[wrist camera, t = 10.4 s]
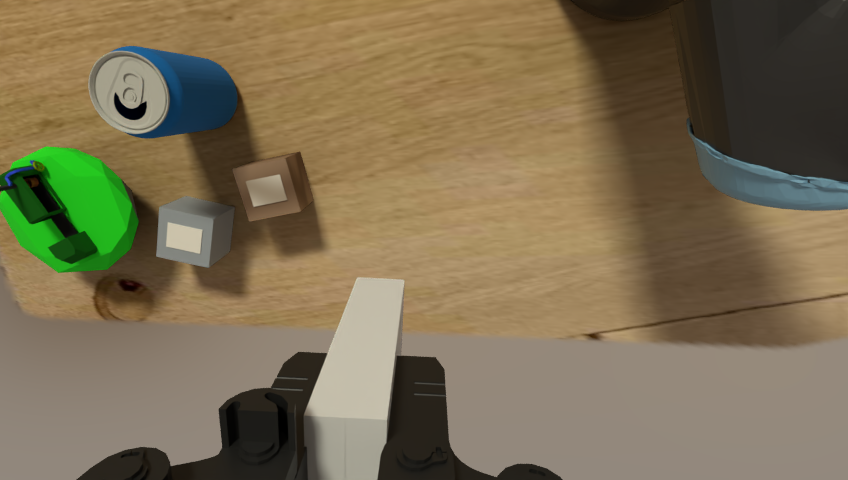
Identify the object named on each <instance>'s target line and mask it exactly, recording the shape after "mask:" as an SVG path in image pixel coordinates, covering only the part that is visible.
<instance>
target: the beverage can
mask: <svg viewBox="0 0 848 480" xmlns="http://www.w3.org/2000/svg"><path fill="white" fill-rule="evenodd" d="M89 93H90V97H91V100H92V103H93V105H94V107H95V109H96V110H97V112H98V113H99V115H100V116H101V117H102V118H103V119H104V120H105V121H106V122H107V123H108V124H110V125H111V126H112V127H114V128H116V129H118V130H120V131H123V132H125V133H127V134H129V135H132V136H135V137H139V138H157V137H164V136H171V135H177V134H184V133H191V132H198V131H205V130H212V129H216V128H219V127H221V126H223V125H225V124H226V123H227V122H228V121H229V120H230V119H231V118H232V116H233V115H234V113H235V110H236V107H237V91H236V87H235V84H234V82H233V80H232V78H231V77H230V75H229V74H228V73H227V71H226V70H225V69H224V68H223V67H221V66H220V65H219V64H217V63H215V62H214V61H211V60H209V59H205V58H200V57H194V56H188V55H183V54H177V53H171V52H166V51H160V50H154V49H149V48H143V47H137V46H126V47H121V48H118V49H115V50H113V51H112V52H110V53H108V54H105V55H104V56H102V57H101V58H100V59H98V61H97V62H96V63H95V64H94V66H93V68H92V70H91V72H90V76H89Z"/></svg>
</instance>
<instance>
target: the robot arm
mask: <svg viewBox="0 0 848 480" xmlns="http://www.w3.org/2000/svg"><path fill="white" fill-rule="evenodd" d="M571 1H572V2H574V3H575V4H576V5H577V6H578V7H580V8H581V9H583V10H584V11H586V12H588V13H590V14H592V15H595V16H597V17H600V18H604V19H609V20H617V21H625V20H635V19H639V18H643V17H647V16H650V15H652V14H655V13H658V12H660V11H663V10H665V9H667V8H669V9H670V15H671V20H672V26H673V32H674V37H675V43H676V48H677V54H678V59H679V65H680V71H681V76H682V82H683V87H684V93H685V98H686V104H687V109H688V115H689V117H688V119H687V130H688V133H689V135H690V137H691V138H692V140H693V142H694V145H695V149H696V154H697V158H698V162H699V166H700V169H701V172H702V174H703V176H704V177H705V178H706V179H707V180H709V182H710V183H711V184H712V185H713V186H714V187H715V188H716V189H717V190H719V191H720V192H722V193H724V194H726V195H728V196H730V197H733V198H735V199H738V200H741V201H744V202H748V203H752V204H756V205H762V206H767V207H774V208H781V209H793V210H813V211H823V210H843V209H848V0H686V1H684V0H571ZM682 1H683V2H682ZM403 302H404V280H399V279H380V278H361V277H357V279H356V282H355V285H354V287H353V290H352V292H351V295H350V297H349V300H348V303H347V305H346V308H345V310H344V313H343V315H342V318H341V321H340V323H339V326H338V328H337V331H336V333H335V336H334V339H333V341H332V344H331V346H330V349H329V351H328V353H310V352H298V353H296V354H295V355H294V356H292V357H291V358H290V359H288V360H287V361H286V362H285V363H284V364H283V366H282V368H281V370H280V371H279V373H278V375H277V379H275V381H274V383H273V385H272V386H271V388H260V389H253V390H249V391H246V392H242V393H240V394H238V395H236V396H234V397H232V398H230V399H229V400H227V401H226V402H225V403H224V404H223V405H222V406H221V407H220V408H219V418H220V427H221V438H222V449H221V451H220V453H219V454H218V455H216V456H215V457H211V458H208V459H204V460H201V461H196V462H190V463H186V464H181V465H175V466H170V461H169V459H168V457H167V455H166V453H164V452H162V451H160V450H158V449H157V448H147V447H139V448H134V449H128V450H124V451H122V452H119V453H117V454H114V455H112V456H109V457H107V458H105V459H104V460H102V461H101V462H99V463H98V464H96V465H95V466H93V467H92V468H90V469H89V470H88V471H87V472H85V473H84V474H83V475H82V476H80V477H79V478H78V479H77V480H562V479H561V478H560V477H559V476H558V475H556V474H554V473H553V472H551V471H550V470H548V469H546V468H543V467H540V466H537V465H533V464H516V465H513V466H510V467H507V468H505V469H504V470H503V471H502V472H501V473H500V474H499V475H498V476H497V477H494V476H491V475H488V474H484V473H481V472H479V471H476V470H474V469H472V468H470V467H468V466H467V465H465V464H464V463H463V462H461V461H460V460H459V459H458V458H457V457H456V456H455V454H454V452H453V451H452V449H451V447H450V443H449V436H448V420H447V405H446V390H445V372H444V368H443V367H442V366H441V364H440V363H439V362H438V360H437V359H436V357H417V356H401V348H402V325H403Z"/></svg>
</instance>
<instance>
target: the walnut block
mask: <svg viewBox="0 0 848 480" xmlns="http://www.w3.org/2000/svg"><path fill="white" fill-rule="evenodd" d="M232 171H233V174H234V177H235V180H236V183H237V186H238V189H239V192H240V195H241V198H242V201H243V204H244V207H245V210H246V213H247V216H248V219H249V222H251V221H256V220H261V219H266V218H271V217H276V216H281V215H286V214H291V213H296V212H301V211H302V210H303V209H304V208H305V207H306V206H307V205H309V204H310V203H311V202H312V201H313V196H312V192H311V189H310V185H309V182H308V178H307V175H306V171H305V167H304V164H303V160H302V157H301V153H300V152H296V153H291V154H287V155H282V156H277V157H272V158H267V159H263V160H258V161H253V162H250V163H247V164H244V165H242V166H239V167H236V168H234V169H232Z"/></svg>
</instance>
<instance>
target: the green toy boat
mask: <svg viewBox="0 0 848 480" xmlns="http://www.w3.org/2000/svg"><path fill="white" fill-rule="evenodd" d="M0 185H1V186H0V191H2V192H1V195H0V210H1V212H2V214H3V215H4V217H5V219H6V221H7V222H8V224H9V226H10V228H11V229H12V231H13V233H14V235H15V236H16V238H17V240H18V242H19V243H20V245H21V246H22V247H23V248H25V249H26V250H28V251H29V252H30V253H32V254H33V255H35V256H36V257H37V258H39V259H40V260H41V261H43V262H44V263H46V264H47V265H48V266H50V267H51V268H53V269H54V270H55V271H57V272H58V273H62V272H77V271H93V270H107V269H108V268H109V267H111V266H112V265H113V264H114V263H115V262H116V261H118V260H119V259H120V258H121V257H122V256H123V255H124V254H126V253H127V252H128V251H129V250H130V249H131V247H132V244H133V240H134V237H135V233H136V230H137V226H138V223H139V220H138V216H137V212H136V207H135V203H134V199H133V195H132V190H131V189H130V188H129V187H128V186H127V185H126V184H125V183H124V182H123V181H122V180H121V179H120V178H119V177H118V176H117V175H116V174H115V173H114V172H113V171H112V170H111V169H110V168H108V167H107V166H106V165H105V164H104V163H103V162H102V161H101V160H100V159H97V158H95V157H93V156H91V155H88V154H86V153H84V152H81V151H79V150H77V149H72V148H59V147H44V148H42V149H40V150H38V151H36V152H34V153H32V154H30V155H28V156H26V157H24V158H22V159H20V160H17V161H15V162H13V163H12V166H11V169H10V170H9V171H7V172H5V173H3V174H2V175H0Z"/></svg>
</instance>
